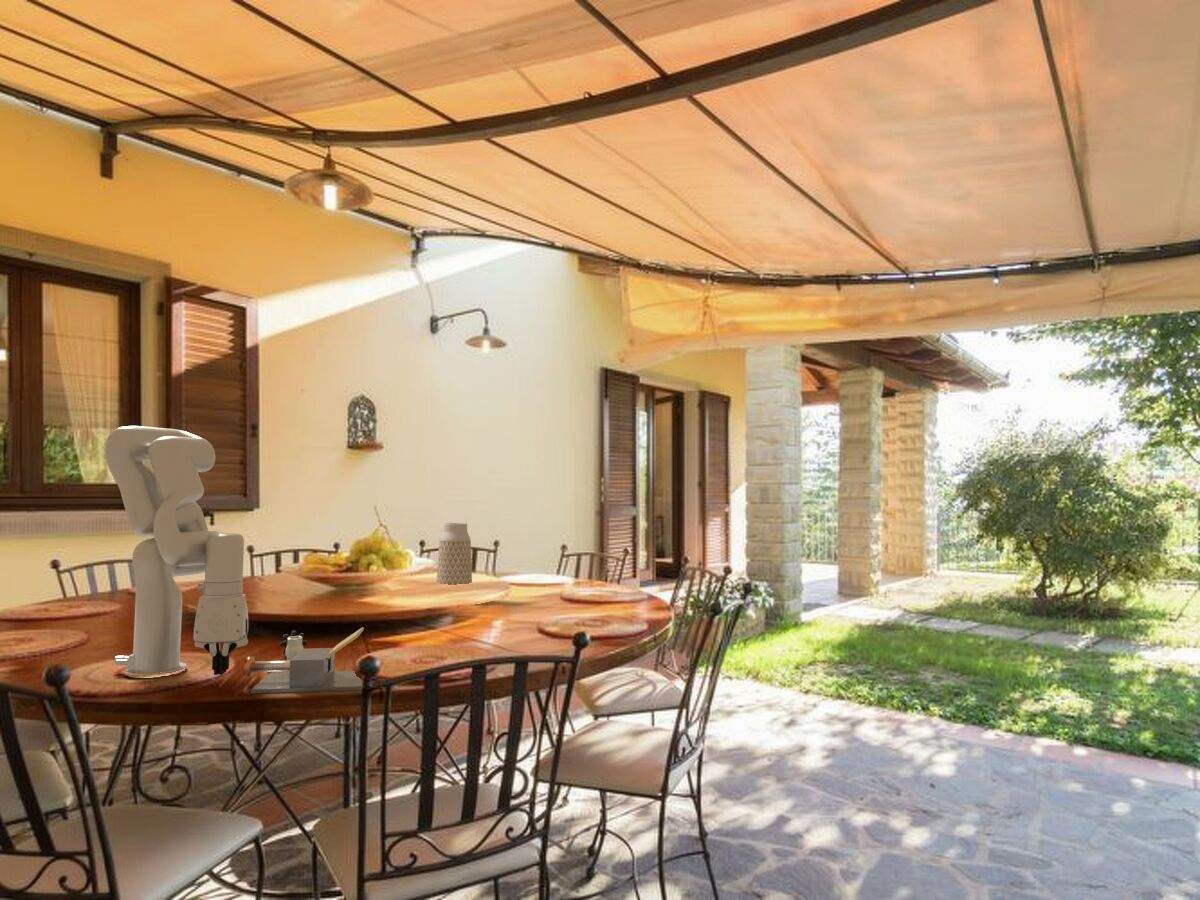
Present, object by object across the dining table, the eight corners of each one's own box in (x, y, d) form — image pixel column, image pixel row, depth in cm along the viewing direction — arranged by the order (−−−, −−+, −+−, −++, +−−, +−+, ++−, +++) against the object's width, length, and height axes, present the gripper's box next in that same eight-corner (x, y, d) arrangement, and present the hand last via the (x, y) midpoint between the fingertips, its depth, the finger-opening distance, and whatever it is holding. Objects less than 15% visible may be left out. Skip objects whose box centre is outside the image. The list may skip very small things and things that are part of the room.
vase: (468, 604, 280) (470, 524, 281) (432, 604, 279) (434, 523, 281) (474, 599, 293) (475, 522, 295) (439, 599, 293) (441, 522, 295)
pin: (243, 679, 159) (243, 659, 160) (249, 674, 164) (250, 654, 164) (311, 677, 162) (312, 657, 162) (315, 672, 166) (316, 653, 166)
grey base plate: (250, 693, 155) (251, 662, 155) (269, 676, 169) (270, 648, 169) (363, 689, 159) (363, 659, 159) (372, 674, 173) (373, 646, 173)
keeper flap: (326, 660, 160) (324, 656, 160) (335, 650, 170) (333, 647, 170) (358, 638, 161) (355, 635, 161) (365, 630, 171) (362, 627, 171)
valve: (308, 664, 181) (306, 654, 192) (309, 638, 182) (307, 629, 193) (279, 667, 179) (279, 656, 190) (280, 639, 179) (280, 631, 190)
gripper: (180, 592, 157) (176, 678, 156) (254, 591, 159) (251, 676, 158) (193, 587, 164) (190, 670, 163) (264, 586, 167) (261, 668, 166)
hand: (220, 673), depth 161 cm, fingers closed
